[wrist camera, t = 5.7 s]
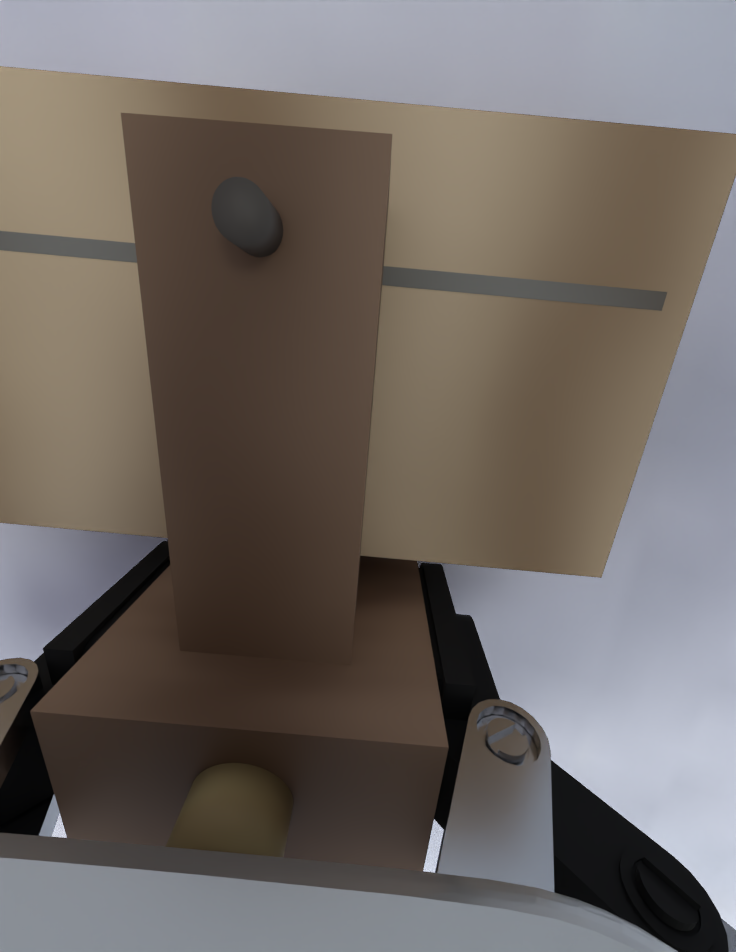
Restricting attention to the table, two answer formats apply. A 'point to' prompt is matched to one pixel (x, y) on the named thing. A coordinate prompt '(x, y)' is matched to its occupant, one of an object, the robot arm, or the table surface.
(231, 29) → the table surface
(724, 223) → the table surface
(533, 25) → the table surface
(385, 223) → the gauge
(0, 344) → the board
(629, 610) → the table surface
